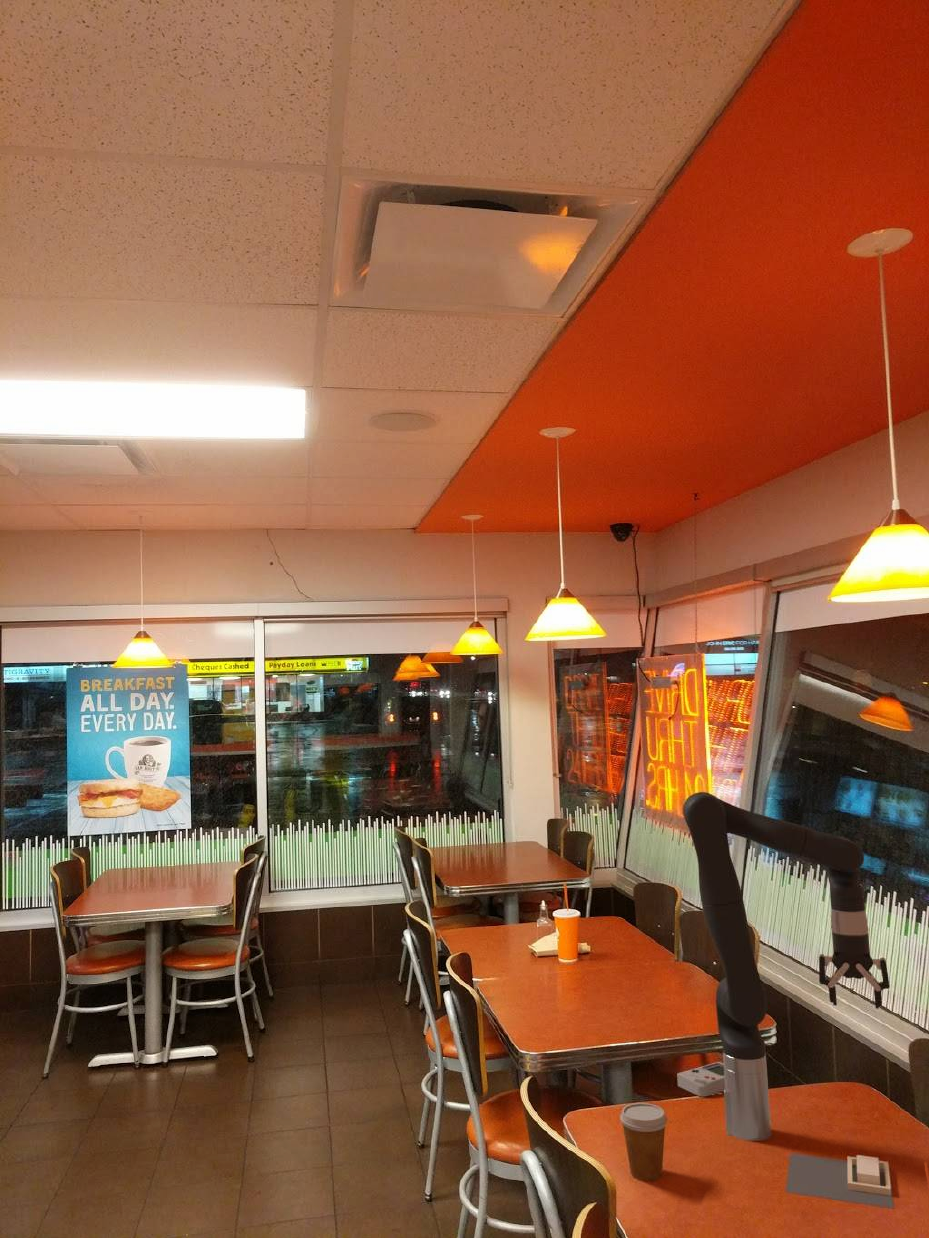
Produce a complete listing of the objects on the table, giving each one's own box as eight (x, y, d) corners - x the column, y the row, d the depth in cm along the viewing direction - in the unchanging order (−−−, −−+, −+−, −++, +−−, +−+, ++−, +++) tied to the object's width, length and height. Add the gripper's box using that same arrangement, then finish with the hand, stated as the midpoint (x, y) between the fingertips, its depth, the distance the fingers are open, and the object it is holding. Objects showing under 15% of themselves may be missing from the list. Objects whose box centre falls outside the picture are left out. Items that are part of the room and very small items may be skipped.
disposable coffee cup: (672, 1165, 188) (669, 1104, 190) (667, 1187, 179) (663, 1123, 181) (626, 1160, 191) (623, 1100, 193) (619, 1181, 182) (616, 1118, 184)
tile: (857, 1167, 184) (856, 1154, 184) (879, 1170, 182) (878, 1157, 182) (858, 1186, 176) (856, 1172, 177) (880, 1189, 175) (879, 1176, 175)
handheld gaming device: (677, 1088, 229) (676, 1072, 230) (720, 1075, 236) (719, 1060, 237) (702, 1100, 222) (701, 1084, 222) (745, 1087, 229) (744, 1071, 229)
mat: (785, 1194, 175) (785, 1185, 175) (790, 1155, 191) (789, 1146, 191) (894, 1211, 168) (893, 1201, 168) (889, 1169, 184) (888, 1160, 184)
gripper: (884, 928, 202) (890, 1003, 200) (815, 924, 208) (821, 998, 206) (885, 935, 196) (892, 1014, 194) (815, 931, 201) (820, 1008, 199)
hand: (855, 1006), depth 200 cm, fingers open, 8 cm apart
